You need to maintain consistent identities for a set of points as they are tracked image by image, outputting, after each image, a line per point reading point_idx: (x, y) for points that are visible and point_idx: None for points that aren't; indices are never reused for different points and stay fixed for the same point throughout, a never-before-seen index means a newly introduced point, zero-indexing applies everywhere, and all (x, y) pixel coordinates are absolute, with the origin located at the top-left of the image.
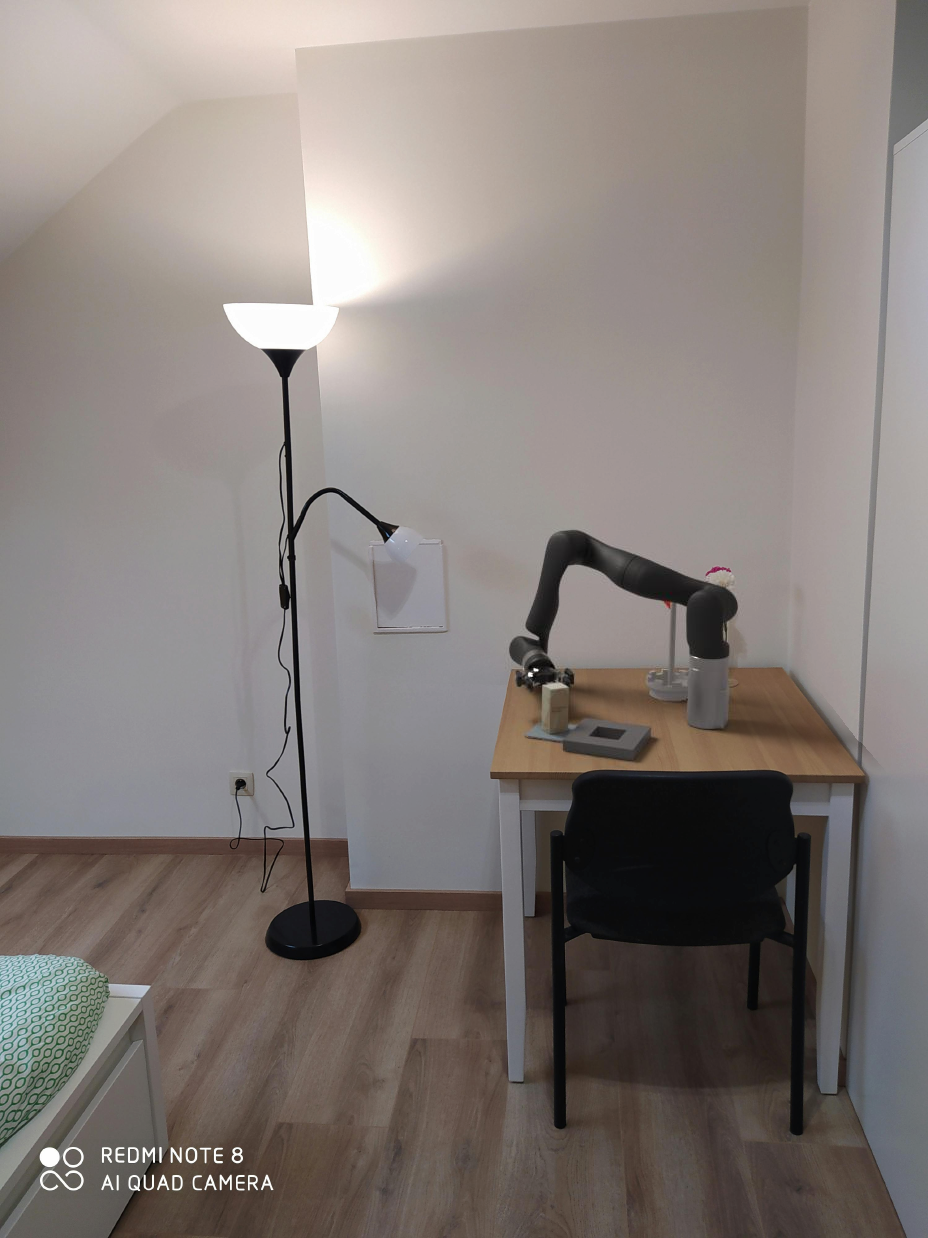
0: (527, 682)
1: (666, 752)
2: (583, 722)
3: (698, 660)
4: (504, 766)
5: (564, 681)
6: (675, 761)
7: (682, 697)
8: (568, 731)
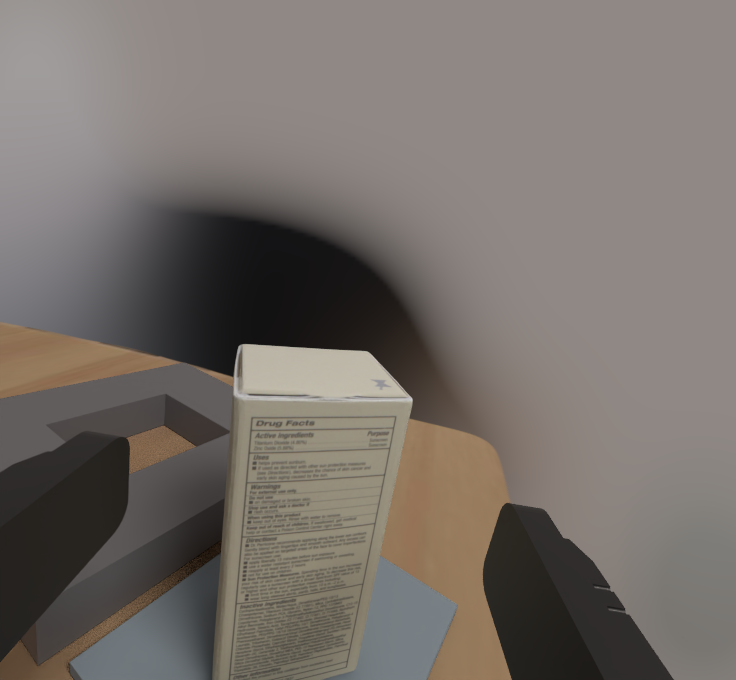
0: (591, 580)
1: (47, 388)
2: (129, 538)
3: None
4: (492, 447)
5: (91, 476)
6: (92, 365)
7: None
8: (217, 588)
